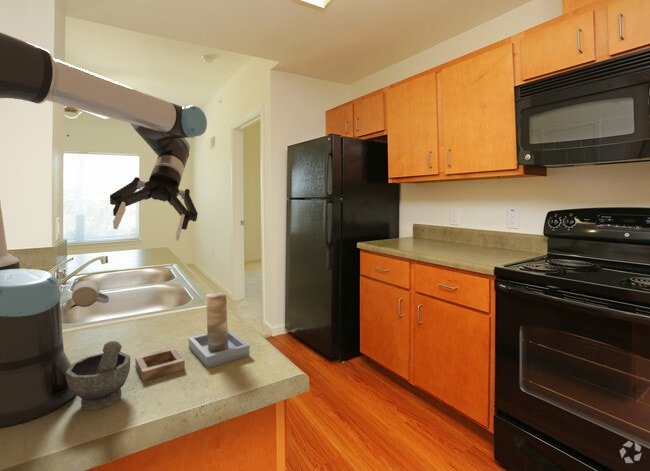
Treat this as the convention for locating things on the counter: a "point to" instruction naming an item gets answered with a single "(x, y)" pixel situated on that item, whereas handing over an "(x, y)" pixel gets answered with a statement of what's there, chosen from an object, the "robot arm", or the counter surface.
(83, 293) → the ceramic mug
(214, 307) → the dowel
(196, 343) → the tray
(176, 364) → the socket block
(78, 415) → the counter surface
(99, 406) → the mortar and pestle
